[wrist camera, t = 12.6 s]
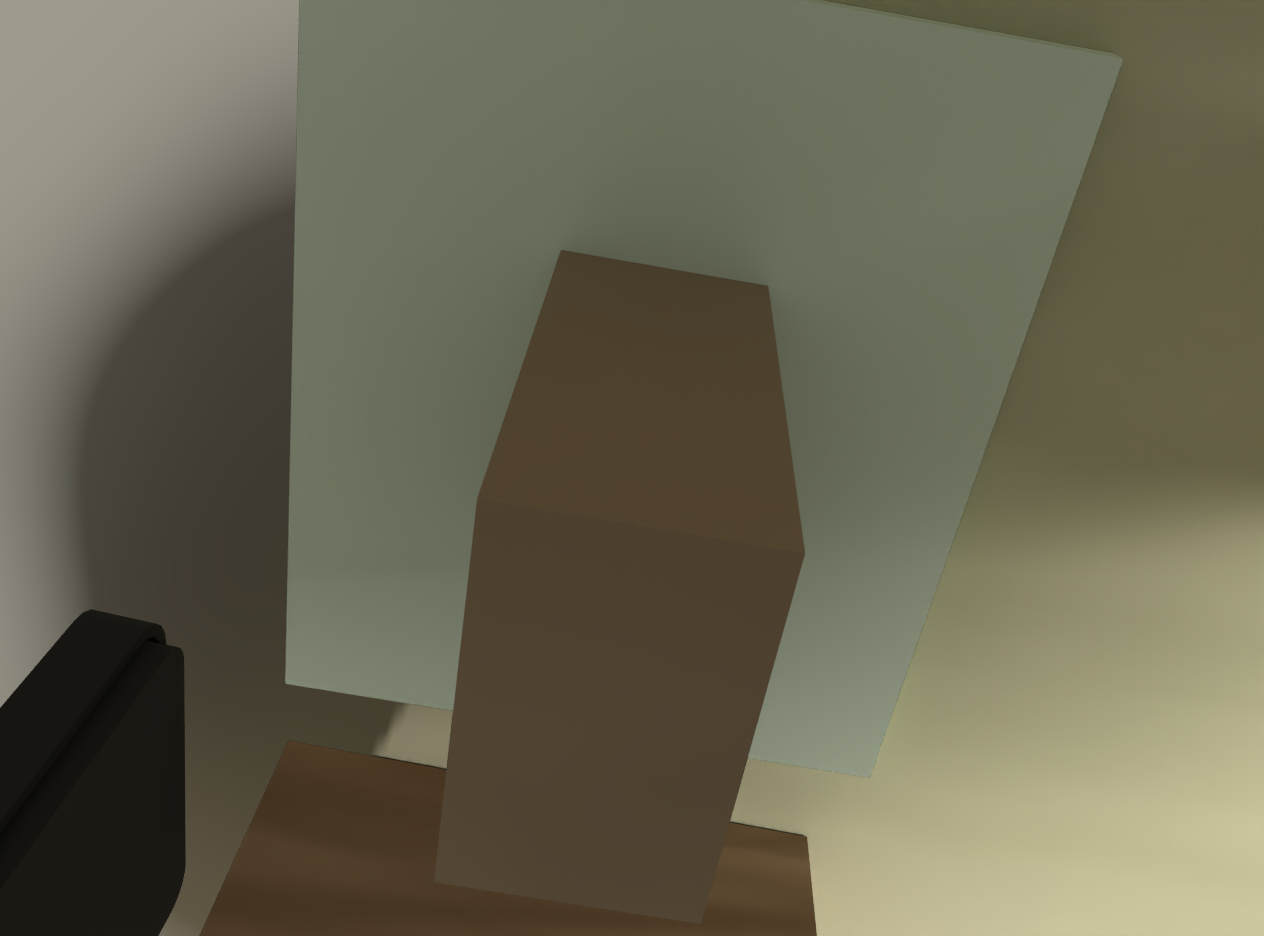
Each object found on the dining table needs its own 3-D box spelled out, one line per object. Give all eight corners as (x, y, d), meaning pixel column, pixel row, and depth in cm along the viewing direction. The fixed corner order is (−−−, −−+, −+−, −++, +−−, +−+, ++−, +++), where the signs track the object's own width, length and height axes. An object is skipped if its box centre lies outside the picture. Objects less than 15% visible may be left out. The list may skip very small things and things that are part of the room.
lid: (319, -95, 15) (11, -29, 9) (1104, 48, 16) (1416, 222, 9) (298, 655, 21) (109, 1044, 15) (864, 747, 22) (937, 1168, 15)
